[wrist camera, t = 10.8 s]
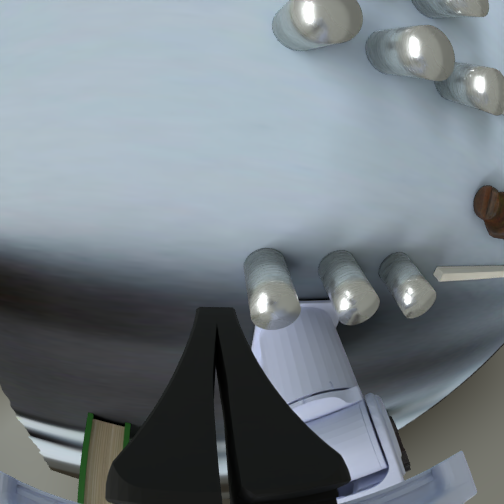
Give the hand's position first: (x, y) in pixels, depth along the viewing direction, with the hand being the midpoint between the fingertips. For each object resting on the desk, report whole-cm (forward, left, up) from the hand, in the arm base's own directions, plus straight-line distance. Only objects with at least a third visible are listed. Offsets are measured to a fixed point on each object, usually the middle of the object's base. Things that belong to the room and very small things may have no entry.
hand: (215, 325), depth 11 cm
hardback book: (-45, +20, -10) cm, 50 cm away
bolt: (+3, -30, -10) cm, 32 cm away
